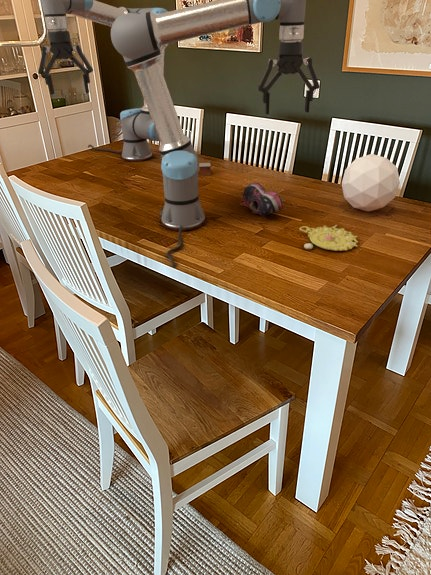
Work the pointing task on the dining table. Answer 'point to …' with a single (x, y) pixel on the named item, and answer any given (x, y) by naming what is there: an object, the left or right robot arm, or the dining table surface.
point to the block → (205, 169)
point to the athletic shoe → (261, 200)
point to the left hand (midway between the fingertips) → (70, 93)
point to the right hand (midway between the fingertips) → (287, 112)
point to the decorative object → (330, 238)
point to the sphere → (370, 182)
